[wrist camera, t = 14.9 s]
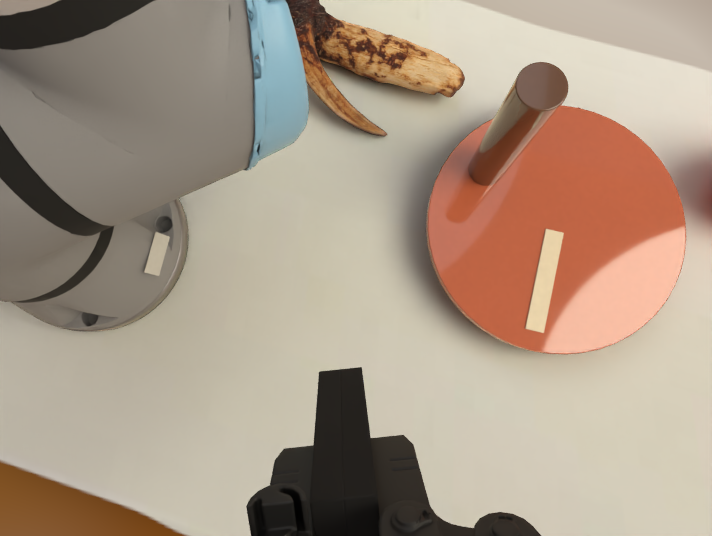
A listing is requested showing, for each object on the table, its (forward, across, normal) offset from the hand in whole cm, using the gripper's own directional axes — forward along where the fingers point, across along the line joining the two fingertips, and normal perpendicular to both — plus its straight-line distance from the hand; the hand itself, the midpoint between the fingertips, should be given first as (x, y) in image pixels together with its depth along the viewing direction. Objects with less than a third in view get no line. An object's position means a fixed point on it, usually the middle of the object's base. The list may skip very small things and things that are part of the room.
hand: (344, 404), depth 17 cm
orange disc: (+22, +17, +1) cm, 28 cm away
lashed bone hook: (+30, +3, +15) cm, 34 cm away
